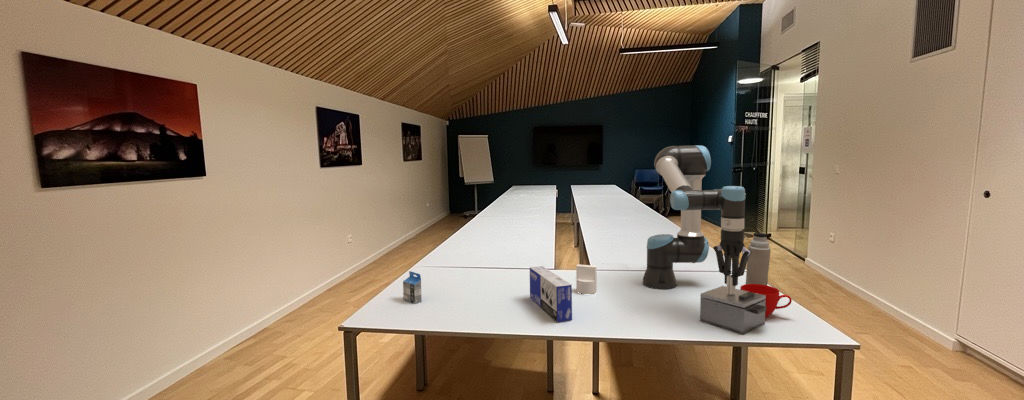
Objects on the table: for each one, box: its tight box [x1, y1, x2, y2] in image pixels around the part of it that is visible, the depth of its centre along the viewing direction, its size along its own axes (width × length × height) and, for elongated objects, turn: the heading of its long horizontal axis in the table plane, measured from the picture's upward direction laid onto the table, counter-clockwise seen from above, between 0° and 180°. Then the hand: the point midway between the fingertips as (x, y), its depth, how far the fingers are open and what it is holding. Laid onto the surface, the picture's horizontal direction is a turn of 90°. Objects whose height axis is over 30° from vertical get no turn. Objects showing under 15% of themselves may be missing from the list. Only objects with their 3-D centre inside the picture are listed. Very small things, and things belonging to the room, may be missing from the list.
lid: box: [700, 285, 766, 308], centre depth 162 cm, size 16×15×2 cm
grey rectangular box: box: [699, 296, 766, 335], centre depth 161 cm, size 18×15×9 cm
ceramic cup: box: [739, 283, 793, 318], centre depth 169 cm, size 13×17×10 cm
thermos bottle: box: [745, 232, 771, 286], centre depth 185 cm, size 8×8×28 cm
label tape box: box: [402, 270, 423, 304], centre depth 194 cm, size 9×4×12 cm, turn 47°
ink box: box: [529, 265, 573, 323], centre depth 181 cm, size 30×7×14 cm, turn 17°
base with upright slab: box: [575, 263, 598, 295], centre depth 201 cm, size 9×9×12 cm
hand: (730, 293), depth 162 cm, fingers closed
